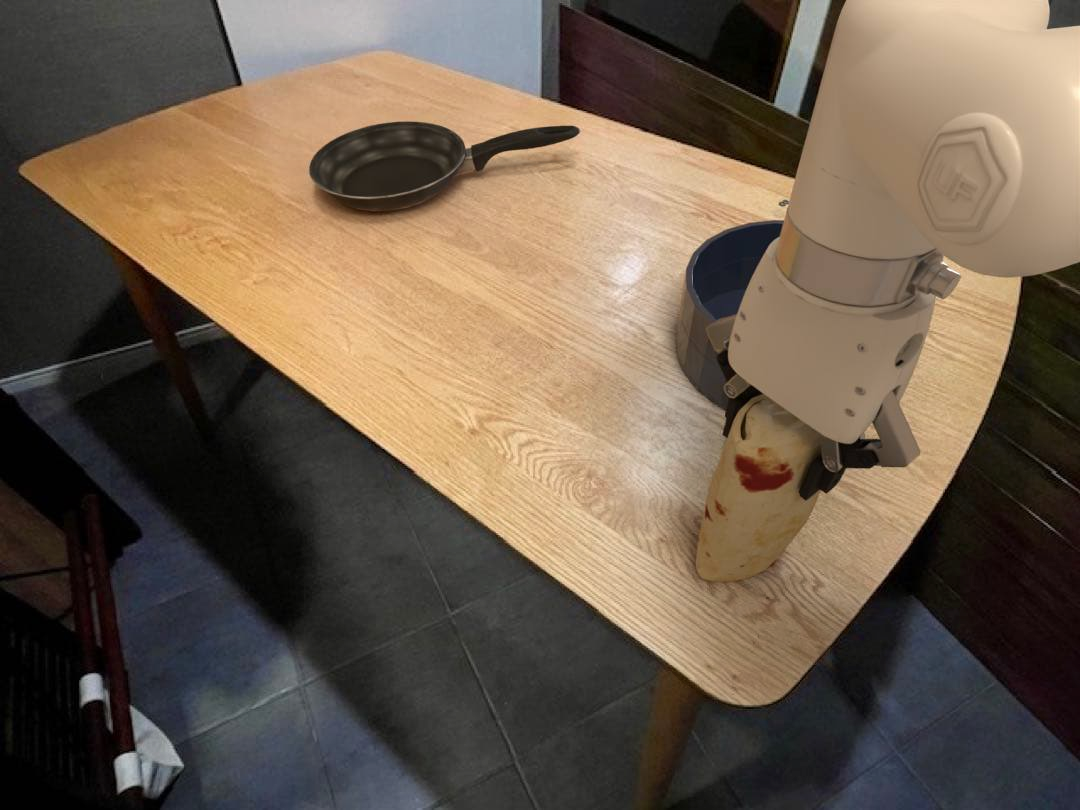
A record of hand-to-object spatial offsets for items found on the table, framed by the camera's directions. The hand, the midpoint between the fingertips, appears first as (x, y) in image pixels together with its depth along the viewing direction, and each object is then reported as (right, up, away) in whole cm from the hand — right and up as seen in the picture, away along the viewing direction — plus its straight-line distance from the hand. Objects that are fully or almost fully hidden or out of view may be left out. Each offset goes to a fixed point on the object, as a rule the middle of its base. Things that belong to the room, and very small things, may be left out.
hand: (776, 455), depth 47 cm
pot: (+11, +10, +29) cm, 32 cm away
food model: (+1, -10, +11) cm, 15 cm away
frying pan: (-35, +41, +60) cm, 81 cm away
